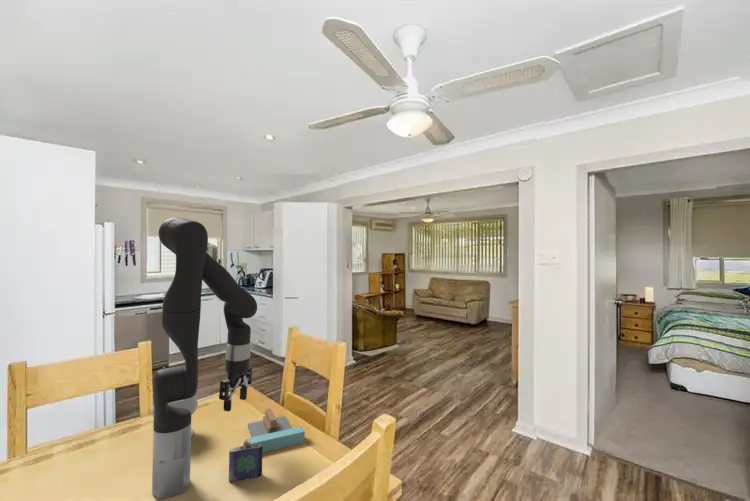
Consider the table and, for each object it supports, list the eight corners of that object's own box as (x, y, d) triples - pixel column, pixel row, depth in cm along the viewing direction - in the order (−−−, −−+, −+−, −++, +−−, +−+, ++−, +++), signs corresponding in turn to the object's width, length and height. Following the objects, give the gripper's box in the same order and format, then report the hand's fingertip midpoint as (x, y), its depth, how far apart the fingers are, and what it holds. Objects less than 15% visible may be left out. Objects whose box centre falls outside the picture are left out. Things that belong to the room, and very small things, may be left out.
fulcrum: (294, 435, 127) (294, 418, 127) (253, 444, 120) (254, 426, 120) (284, 418, 139) (285, 403, 139) (247, 426, 132) (247, 410, 132)
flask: (228, 483, 100) (229, 446, 100) (228, 477, 103) (229, 440, 103) (262, 477, 103) (262, 441, 103) (262, 471, 106) (262, 436, 106)
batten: (304, 443, 122) (304, 431, 122) (250, 456, 114) (250, 443, 114) (301, 437, 126) (301, 426, 126) (248, 449, 117) (248, 437, 117)
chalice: (205, 428, 130) (205, 388, 130) (180, 449, 116) (181, 404, 116) (169, 426, 131) (170, 386, 131) (141, 446, 117) (142, 402, 117)
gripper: (235, 364, 107) (232, 417, 107) (260, 351, 121) (257, 397, 121) (213, 361, 109) (210, 413, 109) (240, 348, 123) (238, 394, 123)
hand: (235, 404), depth 115 cm, fingers open, 8 cm apart
